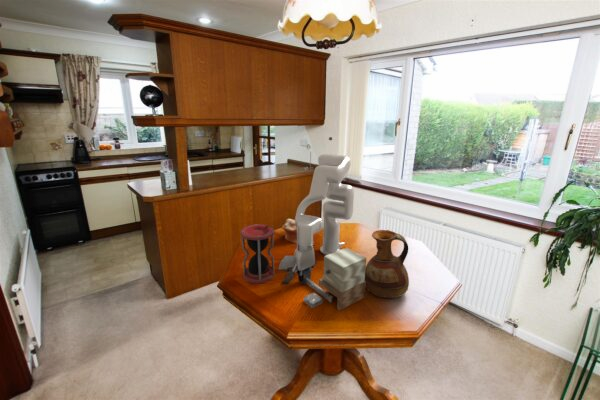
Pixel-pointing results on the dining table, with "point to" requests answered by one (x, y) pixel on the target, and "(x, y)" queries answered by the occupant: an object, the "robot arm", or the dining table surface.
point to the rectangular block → (313, 300)
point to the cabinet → (344, 276)
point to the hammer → (307, 280)
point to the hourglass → (258, 253)
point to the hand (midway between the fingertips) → (304, 279)
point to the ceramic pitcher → (387, 267)
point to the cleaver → (287, 268)
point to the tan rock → (290, 230)
